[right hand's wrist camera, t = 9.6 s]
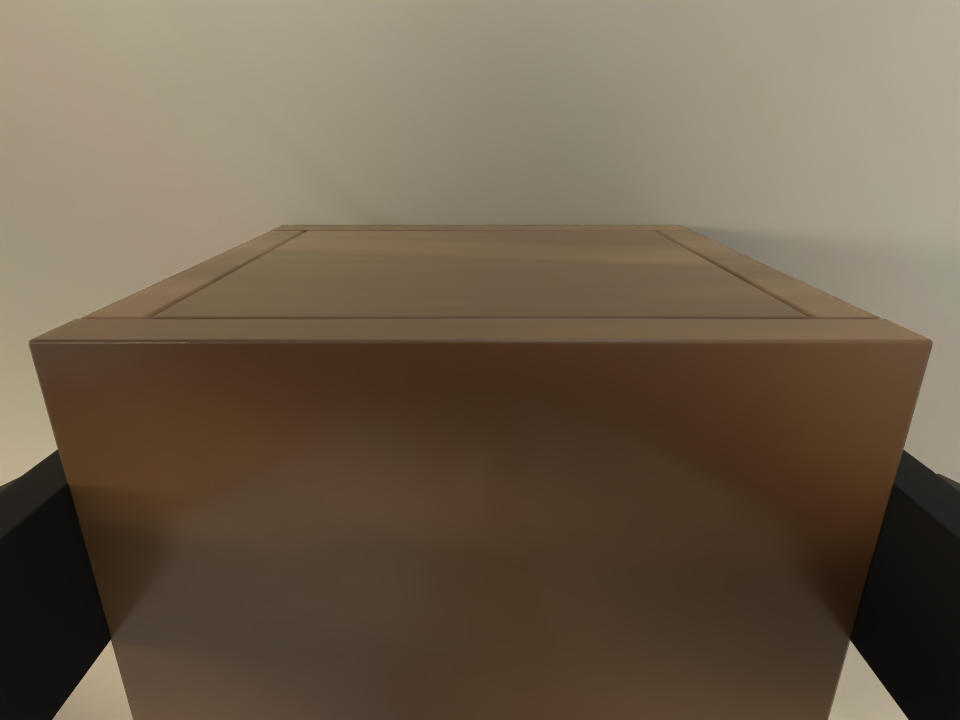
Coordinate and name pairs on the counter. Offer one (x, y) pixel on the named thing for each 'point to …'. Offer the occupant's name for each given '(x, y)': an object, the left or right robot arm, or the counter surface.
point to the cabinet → (480, 476)
